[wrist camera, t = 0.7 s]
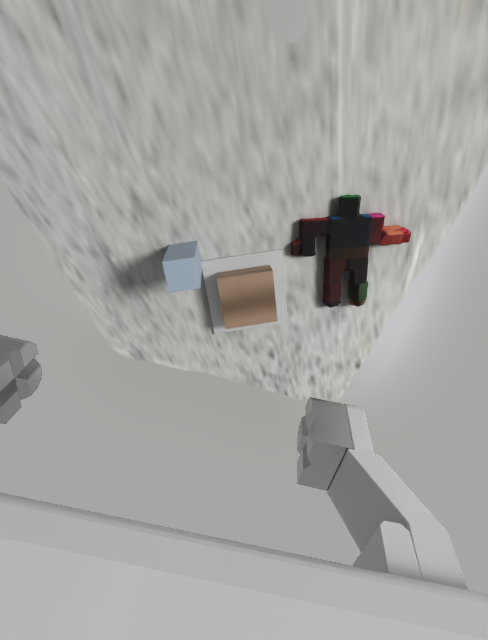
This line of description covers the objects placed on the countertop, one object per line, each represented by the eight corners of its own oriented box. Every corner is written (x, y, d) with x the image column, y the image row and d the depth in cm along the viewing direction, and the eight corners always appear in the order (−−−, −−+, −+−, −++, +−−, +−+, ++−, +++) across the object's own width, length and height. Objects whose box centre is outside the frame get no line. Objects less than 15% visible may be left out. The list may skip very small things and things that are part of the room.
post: (169, 244, 52) (161, 261, 43) (197, 240, 52) (194, 257, 43) (175, 271, 53) (169, 292, 45) (202, 267, 53) (200, 288, 45)
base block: (216, 272, 54) (216, 279, 51) (269, 264, 54) (272, 270, 51) (224, 320, 57) (225, 329, 54) (274, 313, 57) (277, 321, 54)
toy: (410, 228, 54) (420, 232, 51) (347, 315, 59) (354, 323, 57) (326, 175, 50) (332, 176, 47) (267, 274, 55) (270, 280, 53)
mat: (200, 261, 53) (200, 261, 53) (281, 249, 53) (281, 249, 53) (214, 333, 58) (214, 333, 58) (287, 321, 58) (287, 322, 58)
